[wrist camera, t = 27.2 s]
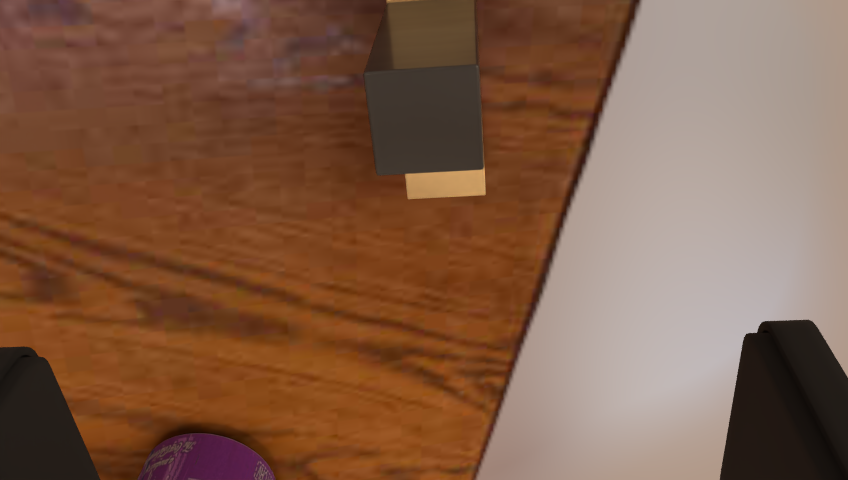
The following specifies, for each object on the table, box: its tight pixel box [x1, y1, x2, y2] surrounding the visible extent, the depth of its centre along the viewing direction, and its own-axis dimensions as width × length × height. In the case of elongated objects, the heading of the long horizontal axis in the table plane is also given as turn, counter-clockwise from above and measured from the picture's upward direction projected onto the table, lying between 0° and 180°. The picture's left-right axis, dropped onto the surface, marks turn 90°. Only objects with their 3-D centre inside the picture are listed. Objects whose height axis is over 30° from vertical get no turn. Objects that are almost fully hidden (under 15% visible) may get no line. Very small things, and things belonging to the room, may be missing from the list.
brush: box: [363, 0, 486, 199], centre depth 25 cm, size 12×3×10 cm, turn 5°
